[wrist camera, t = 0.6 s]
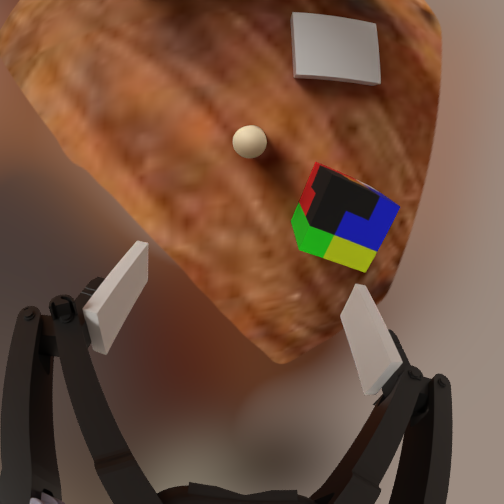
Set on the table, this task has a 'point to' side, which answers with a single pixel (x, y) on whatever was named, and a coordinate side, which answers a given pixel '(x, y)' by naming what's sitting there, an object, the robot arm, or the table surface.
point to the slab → (335, 49)
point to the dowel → (249, 141)
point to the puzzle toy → (342, 218)
